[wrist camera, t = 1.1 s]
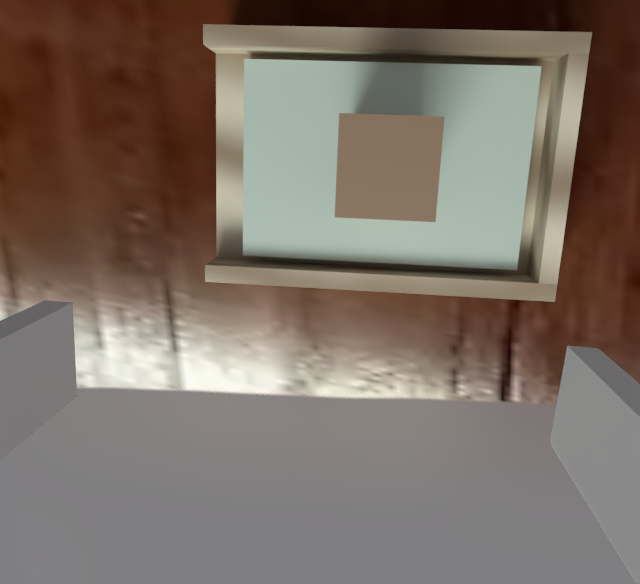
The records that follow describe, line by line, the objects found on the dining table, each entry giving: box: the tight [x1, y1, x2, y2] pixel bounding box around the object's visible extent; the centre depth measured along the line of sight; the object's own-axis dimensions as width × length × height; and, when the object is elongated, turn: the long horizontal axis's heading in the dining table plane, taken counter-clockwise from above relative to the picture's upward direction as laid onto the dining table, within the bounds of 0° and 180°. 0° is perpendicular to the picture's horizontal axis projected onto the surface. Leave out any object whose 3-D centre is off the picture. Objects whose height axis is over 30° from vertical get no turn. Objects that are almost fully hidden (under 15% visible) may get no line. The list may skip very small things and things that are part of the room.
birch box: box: [203, 24, 592, 302], centre depth 33 cm, size 14×20×6 cm
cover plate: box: [243, 59, 542, 270], centre depth 27 cm, size 11×16×12 cm
